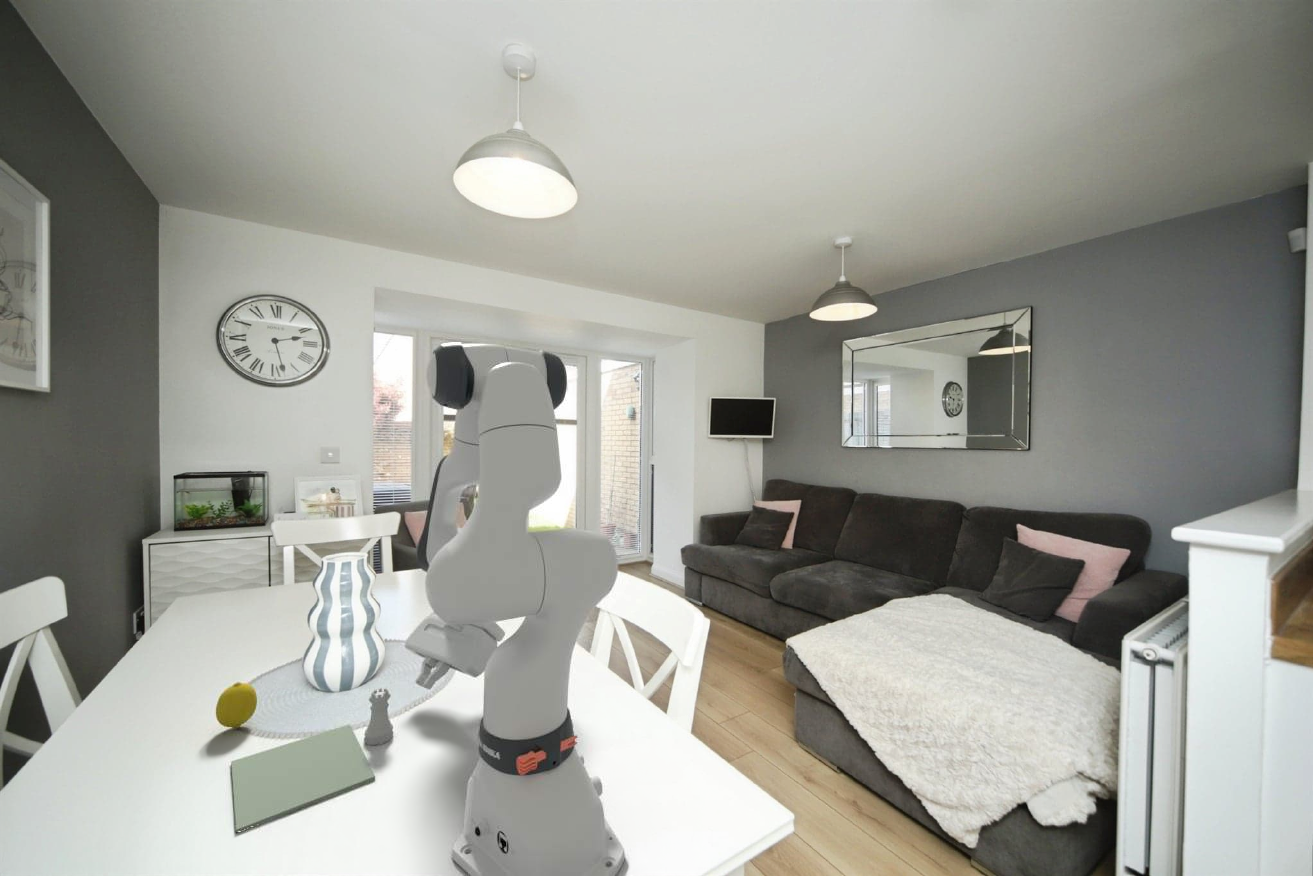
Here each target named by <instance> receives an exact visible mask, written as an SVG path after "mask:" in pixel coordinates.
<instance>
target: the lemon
mask: <svg viewBox="0 0 1313 876" xmlns="http://www.w3.org/2000/svg"><path fill="white" fill-rule="evenodd" d="M257 705H258V697H257V693H256V690H255V688H254V686H252V685H251V684H248V683H245V682H240V681H237V682H235V683H234V684H233V685H231V686H229V687H227V688H226V689H225V690H224V691H223V692H222V693H221V694H220V695H219V697H218V700H217V703H216V707H215V716H216V720H217V721H218V724H220V725H221V726H223V727H224V728H225V727H226V728H232V729H233V730H236V729H239V728H240V726H242V725H243V724H245V723H246V722H248V721H249V720H250V719H251V718H252V716H253V715H254V713H255V712H256V710H257Z"/></svg>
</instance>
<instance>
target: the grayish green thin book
mask: <svg viewBox="0 0 1313 876" xmlns="http://www.w3.org/2000/svg"><path fill="white" fill-rule="evenodd" d="M230 762H231V763H230V766H231V768H232V769H231V779H232V781H233V783H232V794H233V795H234V797H233V806H234V807H233V808H234V810H235V811H234V821H235V822H236V825H235V833H236V832H238V831H242V830H244V829H247V828H249V829H251V828H250V827H251V826H254V827H257V826H258V825H257V824H260V823H262V822H265V823H267V822H269V821H268V820H270V821H272V820H275V819H277V818H279V817H283V816H285V815H287V814H291V813H292V812H296V811H298V810H300V809H303V808H305V807H308V806H311V805H313V804H316V803H319V802H321V801H323V800H327V799H329V798H332V797H334V796H336V795H339V794H342V793H344V792H347V791H350V790H351V789H355V788H358V787H360V786H362V785H365V784H367V783H370V782H373V781H374V780H376V775H375V773H374V771H373V769H372V766H371V764H370V763H369V761H368V759H367V757H366V755H365V752H364V750H363V748H362V746H361V745H360V741H359V740H358V738H357V736H356V734H355V731H354V730H353V728H352V726H351V724H347V725H343V726H340V727H337V728H334V729H331V730H327V731H323V732H320V733H318V734H315V735H311V736H308V737H305V738H301V739H299V740H294V741H291V742H289V743H286V744H282V745H280V746H276V747H274V748H273V747H272V748H270V749H267V750H264V751H260V752H257V753H253V754H250V755H247V756H244V757H241V758H237V759H234V760H231V761H230ZM271 819H272V820H271ZM266 821H267V822H266ZM235 822H234V823H235ZM262 824H263V823H262ZM256 825H257V826H256ZM260 825H261V824H260ZM247 830H248V829H247ZM244 831H245V830H244ZM242 832H243V831H242Z"/></svg>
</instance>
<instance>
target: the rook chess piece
mask: <svg viewBox="0 0 1313 876" xmlns="http://www.w3.org/2000/svg"><path fill="white" fill-rule="evenodd" d="M390 698H391V694H390V692H389V689H388V688H382V687H381V688H378V690H377V689H375V690H373V692H371V694H370V697H369V698H368V701H369V702H370V704H371V706H370V708H369V709H370V711H371V712H370V713H371V715H370V718H369V720H370V721H369V724H367V727H366V729H365V731H364V733H363V734H364V737H363V741H364V743H365V744H366V745H368V746H379V745H382V744H385V743H386V742H388V741H389V740H390V739H392V737H393V735H394V730H393V729H394V725H393V724H392V723H391V720H390V718H389V713H388V708H389V705H390V703H389V702H388V701H389V699H390Z"/></svg>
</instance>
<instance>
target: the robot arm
mask: <svg viewBox="0 0 1313 876" xmlns="http://www.w3.org/2000/svg"><path fill="white" fill-rule="evenodd" d="M567 375H568V374H567V370H566V366H565V364H564V362H563V361H562V359H561V357H559V356H557V355H556V354H553V353H550V352H547V351H544V350H538V351H536V350H530V349H525V348H521V347H516V346H515V347H512V346H504V345H502V344H496V343H463V344H462V342H460V341H459V342H458V341H457V342H446V343H442V344H439V345H438V346H437V347H436V348H434V350H433V352H432V355H431V357H430V359H429V361H428V363H427V368H426V382H427V386H428V389H429V391H430V393H431V397H432V399H433V400H434V401H435V402H436V403H438V404H439V405H440V406H442V407H445V408H447V409H453V410H456V413H455V418H454V429H453V440H452V446H451V449H450V451H449V453H448V454H446V455H444V456H443V457H442V458H441V459H440V461H439V463H438V465H437V466H436V470H435V474H434V476H433V477H434V478H433V482H432V486H431V490H430V491H431V492H430V497H429V501H428V507H427V512H426V517H425V521H424V526H423V530H422V532H421V534H420V537H419V540H418V542H417V545H416V551H415V553H416V554H415V555H416V560H417V563H418V564H417V565H418V566H419V568H420V569H421V570H422V571H423V572H425V573H426V576H425V581H424V582H425V583H424V585H425V589H424V590H425V595H426V599H427V601H428V604H429V607H430V608H431V610H432V611H433V612H431V613H430V614H429V615H427V616H426V617H424V619H422V621H421V622H419V624H418V625H417V626H416V627H415V629H414V630H412V632H411V633H410V635H409V636H408V637H407V638H406V639H405V643H404V648H405V649H407V651H409V652H411V653H412V654H414V655H416V656H419V657H421V658H423V659H424V660H423V661H422V665H421V667H420V673H419V675H418V676H417V678H416V679H415V684H417V685H418V686H419V687H422V688H425V689H427V690H431V689H432V688H433V686H434V685H435V684H436V682H437V681H438V680H440V679H442V678H443V677H444V676H445V675H447V674H448V672H449V670H450V669H453V670H455V671H457V672H459V673H463V674H465V675H468V676H470V677H472V678H478V677H479V676H480V675H482V674H483V673H484V674H483V676H484V679H483V680H484V681H483V710H482V711H483V714H482V716H481V719H480V721H479V722H480V723H479V729H478V734H477V736H478V737H477V741H478V753H479V758H478V761H477V763H476V766H475V768H474V769H473V772H472V773H471V775H470V777H469V779H468V782H467V786H466V787H467V788H466V798H465V808H464V817H463V818H464V819H463V828H462V833H461V834H460V835H459V836H458V838H457V839H456V840H455V842H454V843H453V845H452V851H451V859H453V861H454V862H456V863H457V865H459V866H460V868H462V870H464V872H466V873H467V874H468V875H469V876H616V875H617V874H618V872H619V871H620V869H621V867H622V866H623V863H624V862H625V861H624V860H625V849H624V847H623V845H622V843H621V842H620V839H619V838H618V837H617V835H616V833H615V832H614V830H613V829H612V827H611V826H610V824H609V822H608V821H607V820H606V818H605V812H604V807H603V803H602V799H600V797H601V796H602V795H603V785H602V781H601V779H600V777H599V776H598V775H597V776H596V775H595V776H592V777H590V776H589V772H588V771H587V769H586V766H585V758H584V755H583V754H578V752H577V749H576V747H575V746H576V745H578V742H577V741H576V739H578V735H575V732H574V723H573V720H572V716H571V711H570V709H569V707H568V702H569V701H568V699H569V683H570V671H571V663H572V656H573V653H574V649H575V646H576V643H577V640H578V637H579V636H580V634H581V631H582V630H583V627H584V625H585V623H586V622H587V620H588V618H589V617H590V615H591V613H593V611H594V609H595V608H596V607H597V605H598V604H600V602H601V601H602V600H603V599H604V598H606V597H607V596H608V595H609V594H610V593H611V592H612V590H613V588H614V586H615V583H616V580H617V577H618V572H619V560H618V554H617V552H616V549H615V547H614V545H613V543H612V542H611V541H610V539H609V537H607V535H605V534H604V533H603V532H599V531H594V530H588V529H580V528H563V529H562V528H561V529H551V530H538V531H527V521H528V520H527V519H528V517H529V516H528V515H529V513H530V511H531V510H533V509H535V508H537V507H538V506H540V505H541V504H543V503H544V502H547V500H549V499H550V498H552V497H553V496H554V495H555V493H556V492H557V491H558V489H559V488H560V485H561V483H562V482H561V481H562V469H561V457H560V456H561V455H560V448H559V439H558V438H559V436H558V429H557V428H558V427H557V421H556V413H555V410H557V408H558V407H559V406H560V405H561V404H562V403H563V402H564V400H565V397H566V393H567V387H568V377H567ZM476 485H478V492H477V496H476V501H475V504H474V506H473V509H472V511H471V513H470V515H469V517H468V519H467V521H466V522H465V523H464V525H463V526H462V527H460V526H459V525H458V522H457V517H458V512H459V507H460V504H461V503H460V501H461V499H462V493H463V490H464V489H465V487H467V486H468V487H469V486H476ZM518 618H524V619H523V621H522V623H521V624H520V626H519V627H518V628H517V629H516V631H515V632H514V633H513V634H512V635H510V636H509V637H507V638H506V640H503V639H504V637H505V635H506V632H505V630H504V629H503V628H502V627H501V626H500V624H498V623H497V622H502V621H508V620H512V619H513V620H514V619H518ZM502 640H503V642H501V641H502ZM499 642H501V643H500V644H499V645H498V643H499ZM432 669H434V670H433V671H432Z"/></svg>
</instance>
